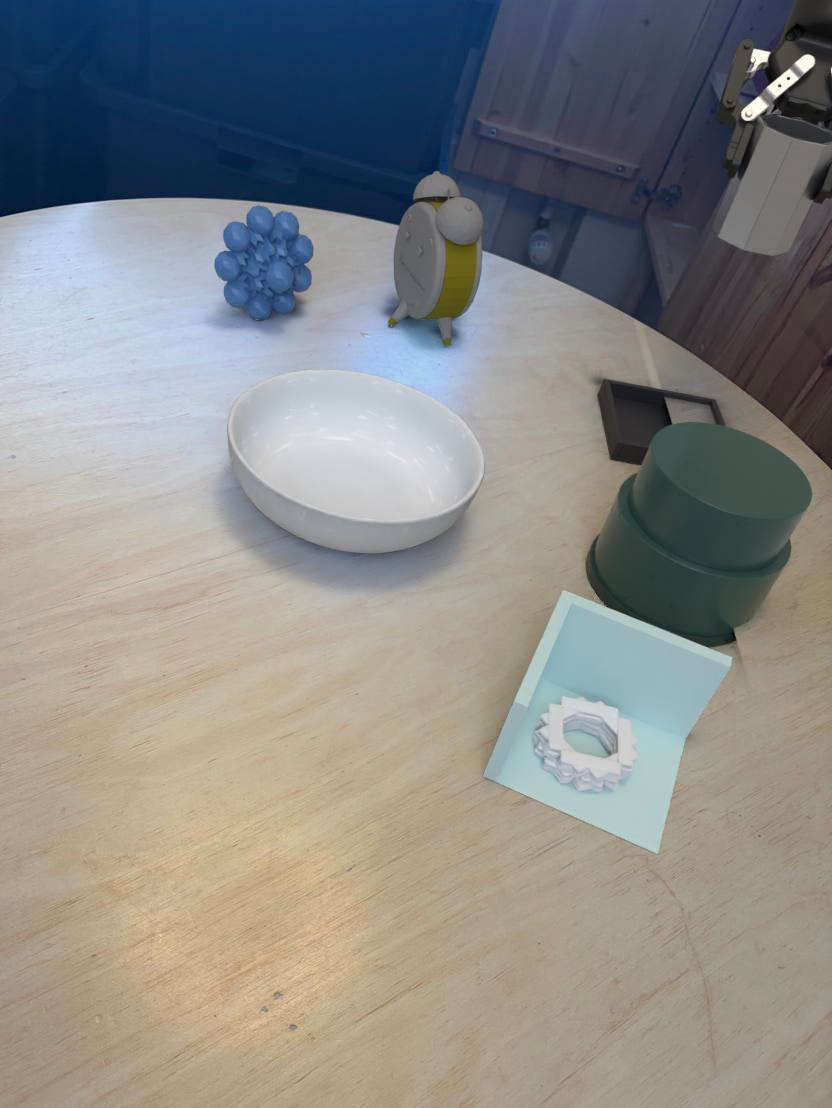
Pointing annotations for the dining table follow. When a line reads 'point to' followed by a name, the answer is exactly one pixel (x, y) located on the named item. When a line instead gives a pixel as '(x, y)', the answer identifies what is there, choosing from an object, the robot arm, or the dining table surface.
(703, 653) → the l-shaped corner panel
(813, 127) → the cup
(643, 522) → the green stepped cylinder
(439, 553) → the dining table surface
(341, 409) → the serving bowl
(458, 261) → the alarm clock
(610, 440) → the tray
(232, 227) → the blue knobbed cluster
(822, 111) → the robot arm
